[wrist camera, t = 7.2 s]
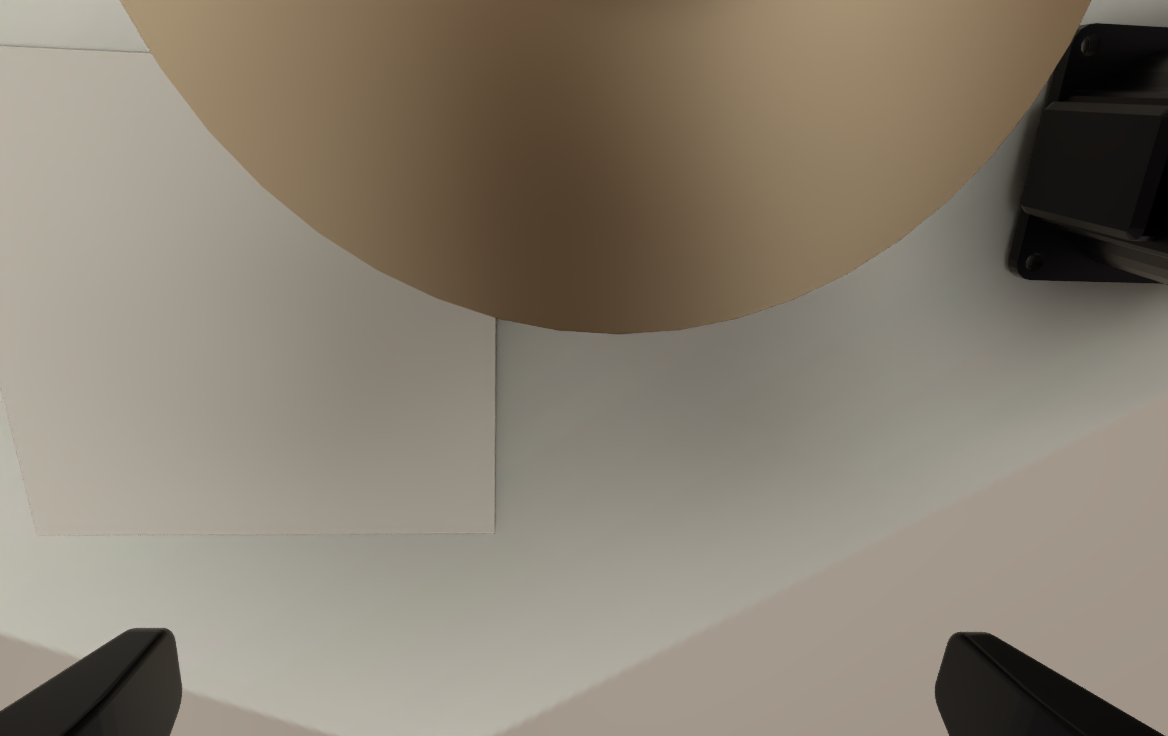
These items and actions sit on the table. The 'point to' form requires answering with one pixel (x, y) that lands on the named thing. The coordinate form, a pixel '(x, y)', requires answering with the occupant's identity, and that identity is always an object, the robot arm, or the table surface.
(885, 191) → the lid
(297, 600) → the table surface
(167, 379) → the mat
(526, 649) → the table surface
